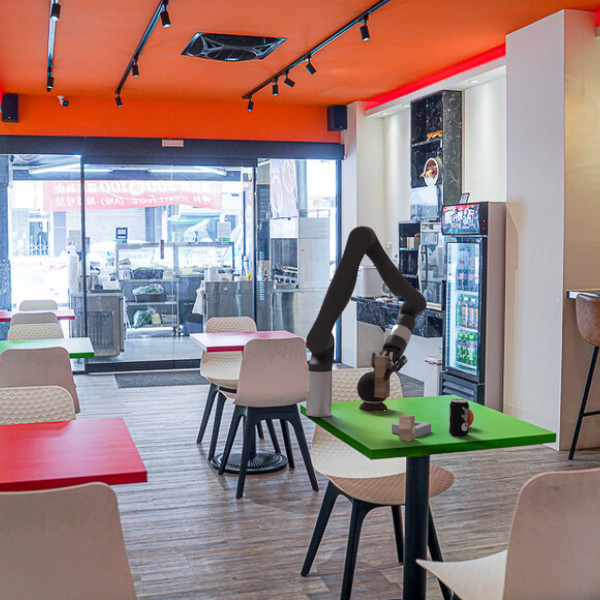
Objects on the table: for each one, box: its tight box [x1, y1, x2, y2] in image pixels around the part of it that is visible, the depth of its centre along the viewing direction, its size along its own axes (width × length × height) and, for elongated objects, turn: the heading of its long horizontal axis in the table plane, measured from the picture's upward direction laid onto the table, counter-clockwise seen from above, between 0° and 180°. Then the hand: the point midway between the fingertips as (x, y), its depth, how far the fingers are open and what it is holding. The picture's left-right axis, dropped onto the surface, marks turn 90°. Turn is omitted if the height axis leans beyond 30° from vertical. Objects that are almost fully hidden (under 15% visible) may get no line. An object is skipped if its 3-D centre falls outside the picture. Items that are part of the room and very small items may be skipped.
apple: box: [469, 408, 475, 427], centre depth 284 cm, size 8×8×8 cm
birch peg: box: [398, 413, 416, 442], centre depth 265 cm, size 4×4×8 cm
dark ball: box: [356, 370, 388, 412], centre depth 317 cm, size 13×13×15 cm
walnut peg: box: [375, 356, 391, 399], centre depth 274 cm, size 4×4×14 cm
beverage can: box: [448, 398, 470, 437], centre depth 273 cm, size 7×7×12 cm
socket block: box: [391, 420, 432, 438], centre depth 276 cm, size 10×10×3 cm
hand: (379, 378), depth 272 cm, fingers closed on walnut peg, 3 cm apart
